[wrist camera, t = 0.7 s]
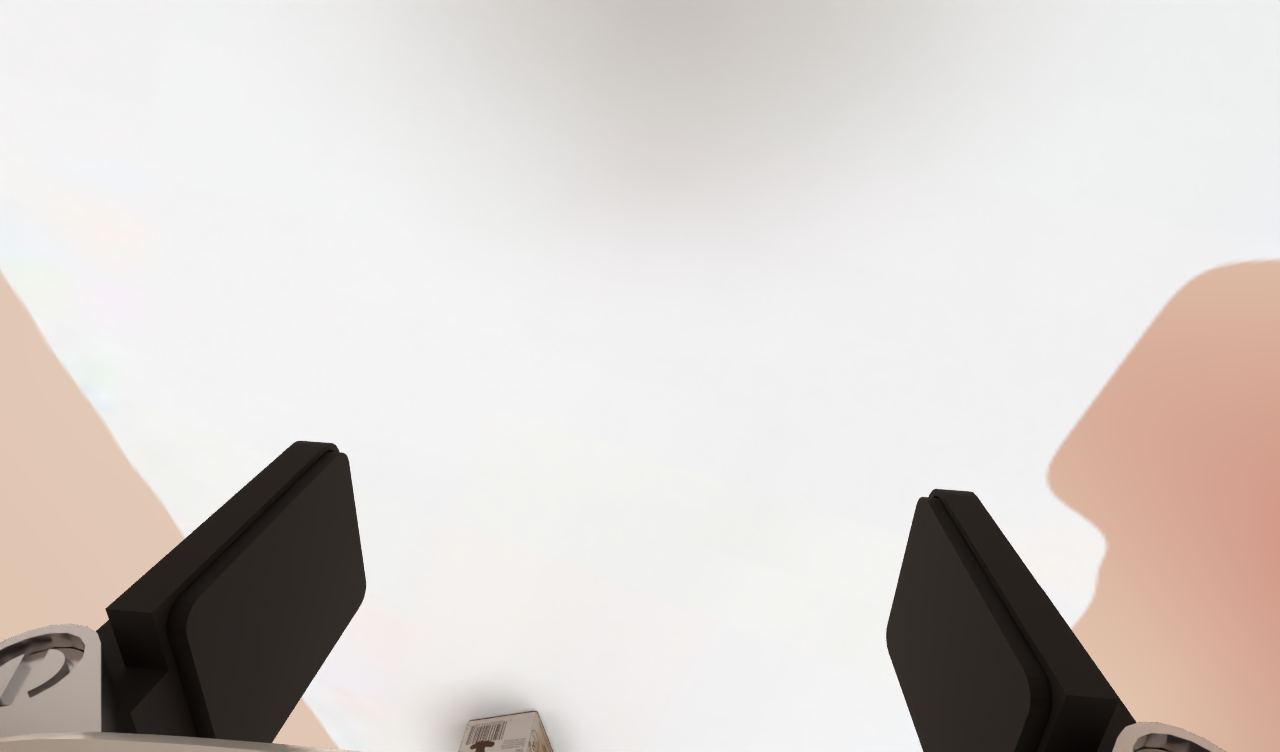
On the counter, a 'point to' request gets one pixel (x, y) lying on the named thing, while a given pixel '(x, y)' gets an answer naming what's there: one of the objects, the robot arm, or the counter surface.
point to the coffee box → (506, 734)
